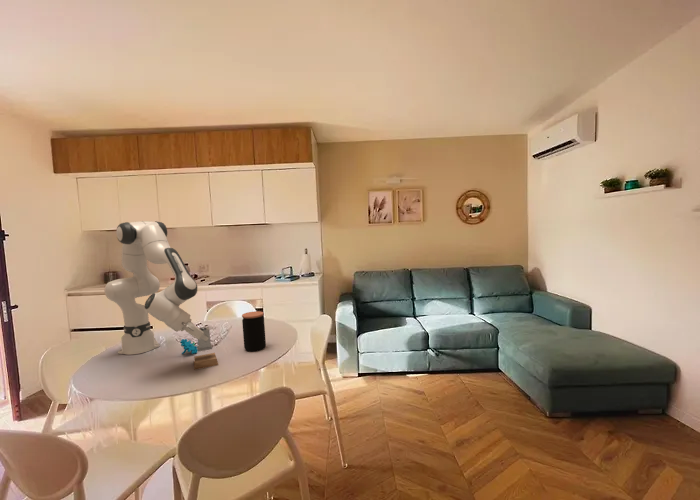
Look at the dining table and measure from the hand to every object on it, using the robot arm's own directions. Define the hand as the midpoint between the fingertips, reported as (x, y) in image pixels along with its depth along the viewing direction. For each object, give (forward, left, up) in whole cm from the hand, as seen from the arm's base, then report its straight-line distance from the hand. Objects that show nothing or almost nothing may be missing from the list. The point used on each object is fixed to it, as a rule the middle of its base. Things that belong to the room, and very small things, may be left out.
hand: (205, 337), depth 163 cm
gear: (-20, -7, -12) cm, 25 cm away
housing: (0, -1, -5) cm, 5 cm away
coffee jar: (-8, +23, -12) cm, 28 cm away
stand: (0, -1, -12) cm, 12 cm away
